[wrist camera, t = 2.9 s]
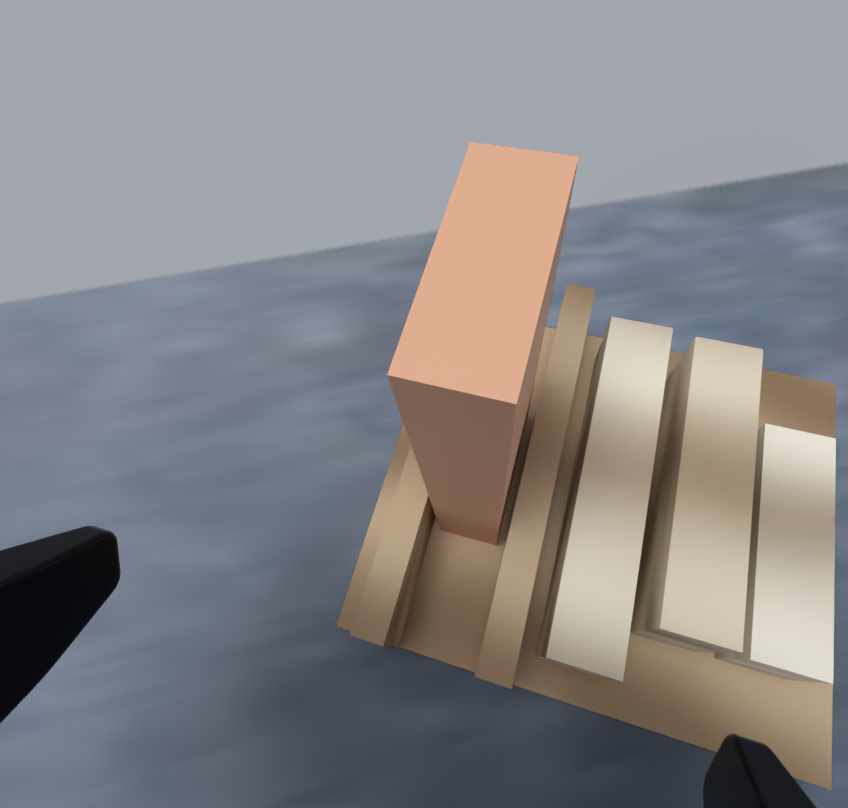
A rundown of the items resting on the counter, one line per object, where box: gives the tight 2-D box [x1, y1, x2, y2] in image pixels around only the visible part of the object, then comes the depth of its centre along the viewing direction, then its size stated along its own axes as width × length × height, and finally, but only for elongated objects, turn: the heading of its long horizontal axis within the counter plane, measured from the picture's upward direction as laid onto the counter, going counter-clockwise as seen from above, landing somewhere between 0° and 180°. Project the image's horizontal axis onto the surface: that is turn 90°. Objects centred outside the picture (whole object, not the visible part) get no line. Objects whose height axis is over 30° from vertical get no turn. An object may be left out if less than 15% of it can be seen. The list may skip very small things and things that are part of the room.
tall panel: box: [387, 142, 579, 546], centre depth 15 cm, size 5×2×12 cm, turn 164°
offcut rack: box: [336, 284, 836, 790], centre depth 18 cm, size 13×15×5 cm
